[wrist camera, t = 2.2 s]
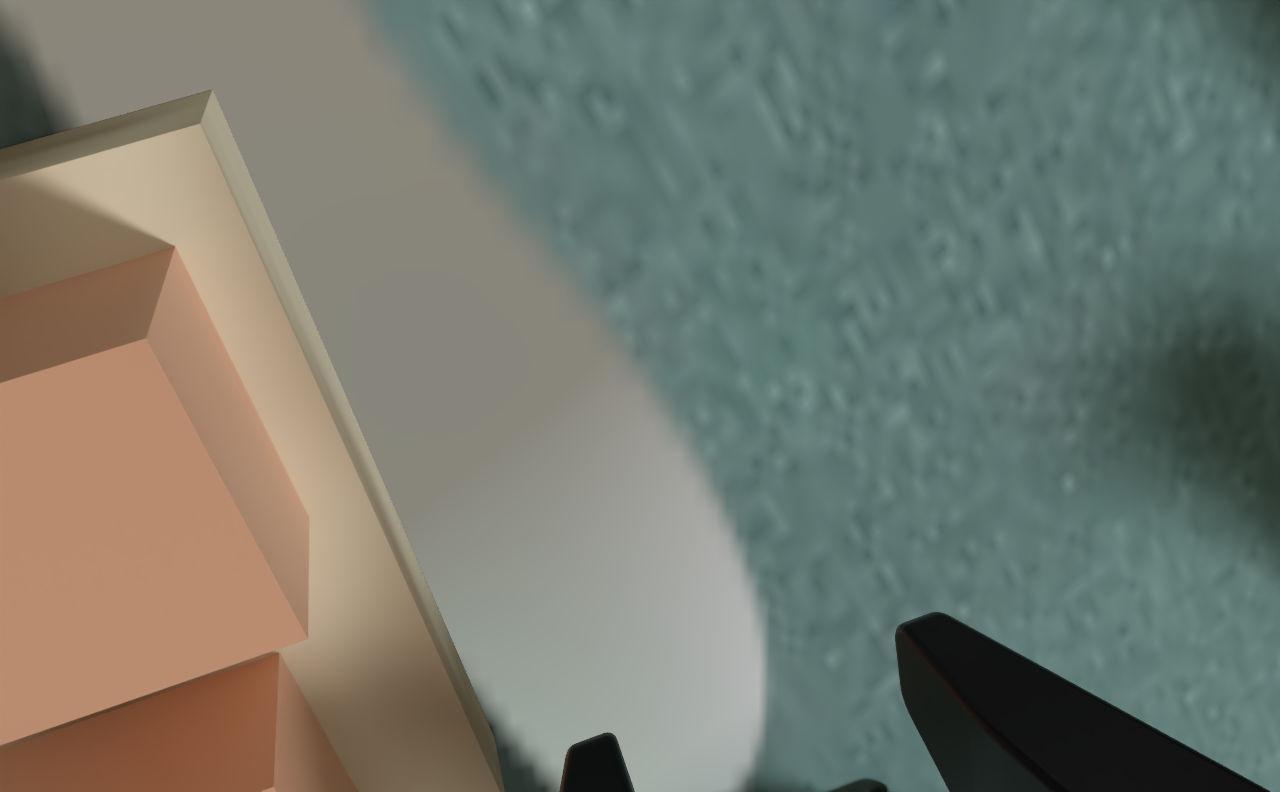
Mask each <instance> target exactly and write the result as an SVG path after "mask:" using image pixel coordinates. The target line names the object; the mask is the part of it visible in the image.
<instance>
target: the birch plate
mask: <svg viewBox="0 0 1280 792" xmlns="http://www.w3.org/2000/svg"><path fill="white" fill-rule="evenodd" d="M172 247H176V249H177V251H178V253H179V255H180V257H181V259H182V261H183V263H184V265H185V267H186V269H187V271H188V273H189V275H190V277H191V279H192V281H193V283H194V285H195V287H196V289H197V291H198V293H199V295H200V297H201V299H202V301H203V303H204V305H205V307H206V309H207V311H208V313H209V315H210V317H211V319H212V321H213V323H214V325H215V327H216V329H217V332H218V334H219V336H220V338H221V340H222V342H223V344H224V346H225V348H226V350H227V352H228V354H229V356H230V358H231V360H232V362H233V364H234V366H235V368H236V370H237V372H238V374H239V376H240V378H241V380H242V382H243V384H244V386H245V388H246V390H247V392H248V394H249V396H250V398H251V400H252V402H253V404H254V406H255V408H256V410H257V412H258V414H259V417H260V419H261V421H262V423H263V425H264V427H265V429H266V431H267V433H268V435H269V437H270V439H271V441H272V443H273V445H274V447H275V449H276V451H277V453H278V455H279V457H280V459H281V461H282V463H283V465H284V467H285V469H286V471H287V473H288V475H289V477H290V479H291V481H292V483H293V485H294V487H295V489H296V491H297V493H298V495H299V497H300V499H301V502H302V504H303V506H304V508H305V510H306V512H307V514H308V516H309V600H308V639H306V640H304V641H301V642H298V643H295V644H292V645H289V646H286V647H283V648H281V649H278V650H275V651H272V652H269V653H266V654H263V655H260V656H257V657H255V658H252V659H249V660H246V661H243V662H240V663H237V664H234V665H231V666H229V667H226V668H223V669H220V670H217V671H214V672H211V673H208V674H205V675H203V676H200V677H197V678H194V679H191V680H188V681H185V682H182V683H179V684H177V685H174V686H171V687H168V688H165V689H162V690H159V691H156V692H153V693H151V694H148V695H145V696H142V697H139V698H136V699H133V700H130V701H127V702H125V703H122V704H119V705H116V706H113V707H110V708H107V709H104V710H101V711H99V712H96V713H93V714H90V715H87V716H84V717H81V718H78V719H75V720H73V721H70V722H67V723H64V724H61V725H58V726H55V727H52V728H50V729H47V730H44V731H41V732H38V733H35V734H32V735H29V736H26V737H24V738H21V739H18V740H15V741H12V742H9V743H6V744H3V745H0V750H1V749H3V748H6V747H9V746H12V745H15V744H18V743H21V742H24V741H26V740H29V739H32V738H35V737H38V736H41V735H44V734H47V733H50V732H52V731H55V730H58V729H61V728H64V727H67V726H70V725H73V724H75V723H78V722H81V721H84V720H87V719H90V718H93V717H96V716H99V715H101V714H104V713H107V712H110V711H113V710H116V709H119V708H122V707H125V706H127V705H130V704H133V703H136V702H139V701H142V700H145V699H148V698H150V697H153V696H156V695H159V694H162V693H165V692H168V691H171V690H174V689H176V688H179V687H182V686H185V685H188V684H191V683H194V682H197V681H199V680H202V679H205V678H208V677H211V676H214V675H217V674H220V673H223V672H225V671H228V670H231V669H234V668H237V667H240V666H243V665H246V664H249V663H251V662H254V661H257V660H260V659H263V658H266V657H269V656H272V655H274V654H277V653H280V655H281V656H282V658H283V660H284V662H285V663H286V665H287V667H288V669H289V671H290V672H291V674H292V676H293V678H294V679H295V681H296V683H297V685H298V686H299V688H300V690H301V692H302V694H303V695H304V697H305V699H306V701H307V702H308V704H309V706H310V708H311V709H312V711H313V713H314V715H315V717H316V718H317V720H318V722H319V724H320V725H321V727H322V729H323V731H324V732H325V734H326V736H327V738H328V740H329V741H330V743H331V745H332V747H333V748H334V750H335V752H336V754H337V756H338V757H339V759H340V761H341V763H342V764H343V766H344V768H345V770H346V771H347V773H348V775H349V777H350V779H351V780H352V782H353V784H354V786H355V787H356V789H357V791H358V792H505V790H504V785H503V779H502V774H501V769H500V763H499V758H498V753H497V748H496V742H495V738H494V736H493V733H492V731H491V729H490V726H489V724H488V722H487V720H486V717H485V715H484V713H483V710H482V708H481V706H480V703H479V701H478V699H477V697H476V694H475V692H474V690H473V687H472V685H471V683H470V680H469V678H468V676H467V674H466V671H465V669H464V667H463V664H462V662H461V660H460V657H459V655H458V653H457V651H456V648H455V646H454V644H453V641H452V639H451V637H450V634H449V632H448V630H447V628H446V625H445V623H444V621H443V618H442V616H441V614H440V611H439V609H438V607H437V605H436V602H435V600H434V598H433V595H432V593H431V591H430V589H429V586H428V584H427V582H426V579H425V577H424V575H423V572H422V570H421V568H420V566H419V563H418V561H417V559H416V556H415V554H414V552H413V549H412V547H411V545H410V542H409V540H408V538H407V536H406V533H405V531H404V529H403V526H402V524H401V522H400V519H399V517H398V515H397V513H396V510H395V508H394V506H393V503H392V501H391V499H390V496H389V494H388V492H387V490H386V487H385V485H384V483H383V480H382V478H381V476H380V474H379V472H378V469H377V467H376V464H375V462H374V460H373V457H372V455H371V453H370V450H369V448H368V446H367V444H366V441H365V439H364V437H363V434H362V432H361V430H360V428H359V425H358V423H357V421H356V418H355V416H354V414H353V411H352V409H351V407H350V404H349V402H348V400H347V398H346V395H345V393H344V391H343V388H342V386H341V384H340V382H339V379H338V377H337V375H336V372H335V370H334V368H333V366H332V363H331V361H330V359H329V356H328V354H327V352H326V349H325V347H324V345H323V343H322V340H321V338H320V336H319V333H318V331H317V329H316V327H315V324H314V322H313V319H312V317H311V315H310V313H309V310H308V308H307V306H306V304H305V301H304V299H303V297H302V294H301V292H300V289H299V287H298V285H297V283H296V280H295V278H294V276H293V273H292V271H291V269H290V266H289V264H288V262H287V260H286V257H285V255H284V253H283V250H282V248H281V246H280V243H279V241H278V239H277V237H276V234H275V232H274V230H273V227H272V225H271V223H270V220H269V218H268V216H267V214H266V211H265V209H264V207H263V205H262V202H261V200H260V197H259V195H258V193H257V191H256V189H255V186H254V184H253V182H252V179H251V177H250V174H249V172H248V170H247V168H246V165H245V163H244V161H243V158H242V156H241V154H240V151H239V149H238V147H237V145H236V142H235V140H234V138H233V135H232V133H231V131H230V129H229V126H228V124H227V122H226V119H225V117H224V115H223V112H222V110H221V108H220V106H219V103H218V101H217V99H216V96H215V94H214V92H213V90H209V91H205V92H202V93H198V94H195V95H191V96H187V97H184V98H181V99H177V100H173V101H170V102H167V103H163V104H159V105H156V106H152V107H148V108H145V109H141V110H138V111H134V112H131V113H127V114H124V115H120V116H117V117H113V118H109V119H106V120H102V121H99V122H95V123H92V124H88V125H85V126H81V127H78V128H74V129H70V130H67V131H63V132H60V133H56V134H53V135H49V136H46V137H42V138H39V139H35V140H31V141H28V142H24V143H21V144H17V145H14V146H10V147H7V148H3V149H0V299H1V298H4V297H8V296H11V295H14V294H18V293H21V292H24V291H28V290H31V289H35V288H38V287H41V286H45V285H48V284H51V283H55V282H58V281H61V280H65V279H68V278H71V277H75V276H78V275H81V274H85V273H88V272H92V271H95V270H98V269H102V268H105V267H108V266H112V265H115V264H118V263H122V262H125V261H128V260H132V259H135V258H138V257H142V256H145V255H149V254H152V253H155V252H159V251H162V250H165V249H169V248H172Z"/></svg>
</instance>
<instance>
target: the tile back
mask: <svg viewBox="0 0 1280 792" xmlns="http://www.w3.org/2000/svg"><path fill="white" fill-rule="evenodd" d="M0 792H358V791H357V789H356V787H355V786H354V784H353V782H352V780H351V779H350V777H349V775H348V773H347V771H346V770H345V768H344V766H343V764H342V763H341V761H340V759H339V757H338V756H337V754H336V752H335V750H334V748H333V747H332V745H331V743H330V741H329V740H328V738H327V736H326V734H325V732H324V731H323V729H322V727H321V725H320V724H319V722H318V720H317V718H316V717H315V715H314V713H313V711H312V709H311V708H310V706H309V704H308V702H307V701H306V699H305V697H304V695H303V694H302V692H301V690H300V688H299V686H298V685H297V683H296V681H295V679H294V678H293V676H292V674H291V672H290V671H289V669H288V667H287V665H286V663H285V662H284V660H283V658H282V656H281V655H280V653H277V654H274V655H272V656H269V657H266V658H263V659H260V660H257V661H254V662H251V663H249V664H246V665H243V666H240V667H237V668H234V669H231V670H228V671H225V672H223V673H220V674H217V675H214V676H211V677H208V678H205V679H202V680H199V681H197V682H194V683H191V684H188V685H185V686H182V687H179V688H176V689H174V690H171V691H168V692H165V693H162V694H159V695H156V696H153V697H150V698H148V699H145V700H142V701H139V702H136V703H133V704H130V705H127V706H125V707H122V708H119V709H116V710H113V711H110V712H107V713H104V714H101V715H99V716H96V717H93V718H90V719H87V720H84V721H81V722H78V723H75V724H73V725H70V726H67V727H64V728H61V729H58V730H55V731H52V732H50V733H47V734H44V735H41V736H38V737H35V738H32V739H29V740H26V741H24V742H21V743H18V744H15V745H12V746H9V747H6V748H3V749H1V750H0Z"/></svg>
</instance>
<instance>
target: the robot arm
mask: <svg viewBox="0 0 1280 792" xmlns="http://www.w3.org/2000/svg"><path fill="white" fill-rule="evenodd" d="M895 642H896V651H897V659H898V668H899V677H900V686H901V692H902V696H903V699H904V702H905V705H906V707H907V710H908V712H909V714H910V716H911V718H912V720H913V722H914V724H915V726H916V728H917V730H918V732H919V734H920V735H921V737H922V739H923V741H924V743H925V745H926V747H927V749H928V751H929V753H930V755H931V757H932V759H933V761H934V762H935V764H936V766H937V768H938V770H939V772H940V774H941V776H942V778H943V780H944V782H945V784H946V786H947V787H948V789H949V791H950V792H1270V791H1269V790H1267V789H1265V788H1263V787H1261V786H1259V785H1258V784H1256V783H1254V782H1252V781H1250V780H1249V779H1247V778H1245V777H1243V776H1241V775H1239V774H1238V773H1236V772H1234V771H1232V770H1230V769H1228V768H1227V767H1225V766H1223V765H1221V764H1219V763H1217V762H1216V761H1214V760H1212V759H1210V758H1208V757H1207V756H1205V755H1203V754H1201V753H1199V752H1197V751H1196V750H1194V749H1192V748H1190V747H1188V746H1186V745H1185V744H1183V743H1181V742H1179V741H1177V740H1175V739H1174V738H1172V737H1170V736H1168V735H1166V734H1164V733H1163V732H1161V731H1159V730H1157V729H1155V728H1154V727H1152V726H1150V725H1148V724H1146V723H1144V722H1143V721H1141V720H1139V719H1137V718H1135V717H1133V716H1132V715H1130V714H1128V713H1126V712H1124V711H1122V710H1121V709H1119V708H1117V707H1115V706H1113V705H1112V704H1110V703H1108V702H1106V701H1104V700H1102V699H1101V698H1099V697H1097V696H1095V695H1093V694H1091V693H1090V692H1088V691H1086V690H1084V689H1082V688H1080V687H1079V686H1077V685H1075V684H1073V683H1071V682H1070V681H1068V680H1066V679H1064V678H1062V677H1060V676H1059V675H1057V674H1055V673H1053V672H1051V671H1049V670H1048V669H1046V668H1044V667H1042V666H1040V665H1038V664H1037V663H1035V662H1033V661H1031V660H1029V659H1027V658H1026V657H1024V656H1022V655H1020V654H1018V653H1017V652H1015V651H1013V650H1011V649H1009V648H1007V647H1006V646H1004V645H1002V644H1000V643H998V642H996V641H995V640H993V639H991V638H989V637H987V636H985V635H984V634H982V633H980V632H978V631H976V630H975V629H973V628H971V627H969V626H967V625H965V624H964V623H962V622H960V621H958V620H956V619H954V618H953V617H951V616H949V615H947V614H944V613H941V612H932V613H929V614H926V615H923V616H921V617H918V618H915V619H913V620H910V621H907V622H904V623H902V624H901V625H899V626H898V627H897V629H896V633H895ZM560 792H635V791H634V788H633V785H632V782H631V779H630V776H629V773H628V771H627V768H626V765H625V762H624V759H623V756H622V753H621V750H620V747H619V744H618V741H617V739H616V737H615V735H613V734H612V733H603V734H601V735H598V736H595V737H592V738H590V739H587V740H584V741H581V742H579V743H576V744H574V745H572V746H571V747H570V748H569V750H568V752H567V754H566V758H565V763H564V769H563V775H562V781H561V786H560Z"/></svg>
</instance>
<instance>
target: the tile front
mask: <svg viewBox="0 0 1280 792" xmlns="http://www.w3.org/2000/svg"><path fill="white" fill-rule="evenodd" d="M308 600H309V516H308V514H307V512H306V510H305V508H304V506H303V504H302V502H301V499H300V497H299V495H298V493H297V491H296V489H295V487H294V485H293V483H292V481H291V479H290V477H289V475H288V473H287V471H286V469H285V467H284V465H283V463H282V461H281V459H280V457H279V455H278V453H277V451H276V449H275V447H274V445H273V443H272V441H271V439H270V437H269V435H268V433H267V431H266V429H265V427H264V425H263V423H262V421H261V419H260V417H259V414H258V412H257V410H256V408H255V406H254V404H253V402H252V400H251V398H250V396H249V394H248V392H247V390H246V388H245V386H244V384H243V382H242V380H241V378H240V376H239V374H238V372H237V370H236V368H235V366H234V364H233V362H232V360H231V358H230V356H229V354H228V352H227V350H226V348H225V346H224V344H223V342H222V340H221V338H220V336H219V334H218V332H217V329H216V327H215V325H214V323H213V321H212V319H211V317H210V315H209V313H208V311H207V309H206V307H205V305H204V303H203V301H202V299H201V297H200V295H199V293H198V291H197V289H196V287H195V285H194V283H193V281H192V279H191V277H190V275H189V273H188V271H187V269H186V267H185V265H184V263H183V261H182V259H181V257H180V255H179V253H178V251H177V249H176V247H172V248H169V249H165V250H162V251H159V252H155V253H152V254H149V255H145V256H142V257H138V258H135V259H132V260H128V261H125V262H122V263H118V264H115V265H112V266H108V267H105V268H102V269H98V270H95V271H92V272H88V273H85V274H81V275H78V276H75V277H71V278H68V279H65V280H61V281H58V282H55V283H51V284H48V285H45V286H41V287H38V288H35V289H31V290H28V291H24V292H21V293H18V294H14V295H11V296H8V297H4V298H1V299H0V745H3V744H6V743H9V742H12V741H15V740H18V739H21V738H24V737H26V736H29V735H32V734H35V733H38V732H41V731H44V730H47V729H50V728H52V727H55V726H58V725H61V724H64V723H67V722H70V721H73V720H75V719H78V718H81V717H84V716H87V715H90V714H93V713H96V712H99V711H101V710H104V709H107V708H110V707H113V706H116V705H119V704H122V703H125V702H127V701H130V700H133V699H136V698H139V697H142V696H145V695H148V694H151V693H153V692H156V691H159V690H162V689H165V688H168V687H171V686H174V685H177V684H179V683H182V682H185V681H188V680H191V679H194V678H197V677H200V676H203V675H205V674H208V673H211V672H214V671H217V670H220V669H223V668H226V667H229V666H231V665H234V664H237V663H240V662H243V661H246V660H249V659H252V658H255V657H257V656H260V655H263V654H266V653H269V652H272V651H275V650H278V649H281V648H283V647H286V646H289V645H292V644H295V643H298V642H301V641H304V640H306V639H308Z"/></svg>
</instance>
